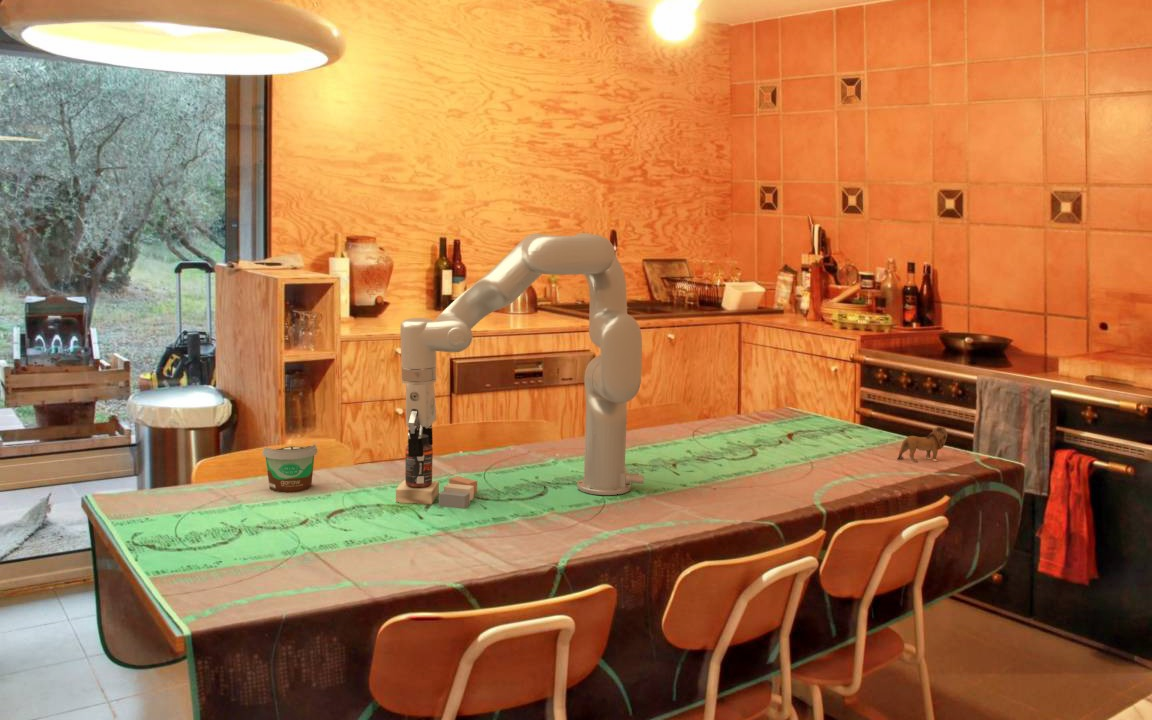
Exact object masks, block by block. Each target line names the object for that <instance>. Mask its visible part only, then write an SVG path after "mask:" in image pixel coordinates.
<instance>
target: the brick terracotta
mask: <svg viewBox="0 0 1152 720" xmlns="http://www.w3.org/2000/svg"><path fill="white" fill-rule="evenodd" d="M448 484H459V485H469V486H474V495H475V494H478V480H474V479H470V478H467V477H463V476H459V475H458V476H455V477H450V478H449V479H448Z"/></svg>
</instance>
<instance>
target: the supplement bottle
mask: <svg viewBox="0 0 1152 720" xmlns="http://www.w3.org/2000/svg"><path fill="white" fill-rule="evenodd" d="M422 438H423V456H422V457H410V456H409V455H408V444H407V445H406V446H405V447H406V448H405V473H404V475H405V478H404V480H406V485H407V486H410V487H415V488H423V487H428V486H430V485H431V484H432V481H433V458H434V457H433V445H432V446H431V445H430V444H429V442H428V441H429V440H428V439H429V438H428V435H426V434H422Z"/></svg>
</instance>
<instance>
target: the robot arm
mask: <svg viewBox="0 0 1152 720" xmlns="http://www.w3.org/2000/svg"><path fill="white" fill-rule="evenodd" d="M542 275H554V276H556V275H558V276H559V275H560V276H564V275H565V276H570V275H571V276H574V275H584V277H585V279H586V281H587V285H588V293H589V294H588V295H589V314H588V315H589V318H588V319H589V320H588V321H589V322H588V323H589V325H588V334H589V338H590V340H591V342H592V343H593V345H595V346H596V347H597V348H600V355H597V356H594V357H593V358H592V359H591V360H590V361H589V362H588V364H587V366H586V368H585V371H584V380H583V382H584V393H585V431H584V432H585V434H584V435H585V436H584V465H583V467H584V469H583V478H582V479H580V480H578V481H577V484H576V487H577V489H578V490H580V492H583V493H586V494H591V495H595V496H596V495H599V496H616V495H617V494H618V495H622V494H626V493H629V492H630V491H631V489H632V487H631V486H632V484H637V485H639V484H640V485H644V482H645V481H644V480H645V479H644V478H645V475H640V474H639V473H630V472H629V471H628V472H627V467H626V450H627V449H626V447H627V423H628V420H627V419H628V409H627V407H628V405H627V403H628V402H631V400H633V399H634V398H635V397H636V396H637V394H638V393H639V390H640V387H641V383H642V370H643V369H642V367H643V365H642V364H643V362H642V360H643V357H642V355H643V340H642V339H643V338H642V331H641V328H640V325H639V323H638V321H637V320H636V319H635V317H633V316H632V315H630V314H628V299H627V297H628V296H627V282H626V281H627V280H626V277H625V276H626V275H625V273H624V269H623V268H622V265H621V263H620V261H619V259H618V257H617V256H616V251H615V247H614V245H613V244H612V242H611V241H610V240H609V239H608V238H606V237H605V236H602V235H599V234H593V233H588V232H582V233H576V234H574V235H551V234H550V235H549V234H543V233H532V234H529V235H527V236H526V237H524V238H522V240H521V241H520V242H518V243H517V244H516V246H514V248H512V250H510V251H509V252H508V253H507V254H506V255H505V256H504V257H503V258H502V259H501V260H500V261H499V262H497V264H495V266H494V267H493V268H491V270H489V272H487V273H486V274H485V275H484V276H483V277H482V278H480V279H478V280H477V281H475V283H474V284H473V285H472V286H470V287H469V288H468V289H466V290H465V291H464V292H463V293H461V294H460V295H459V296H458V297H456V298H455V299H454V301H452V302H451V303H450V304H449V305H448V306H447V307H446V308H444V310H443V311H442V312H441V313H440V314H439V315H438V316H437V317H436V318H435V319H434V320H433V319H430V318H425V317H414V318H413V317H411V318H407V319H404V320H402V322H401V323H400V330H399V331H400V360H401V361H400V362H401V363H400V364H401V365H400V366H401V383H402V384H406V385H405V421H406V422H405V423H406V427H407V428H408V430H407V433H408V434H407V445H408V455H409V456H410V457H422V456H423V438H422V434H426V435H428V438H429V439H428V440H429V441H428V442H429V444H430V445H431V446H432V447H433V443H434V441H433V439H434V438H433V424H434V423H435V421H436V420H437V406H436V405H437V404H436V391H435V384H434V383H436V382H437V352H444V353H445V352H446V353H456V354H457V353H460V352H463V351H465V350H467V349H468V348H469V346H470V345H471V344H472V341H473V330H472V329H473V328H474V327H475V326H476V325H477V324H478V323H479V322H480V321H482V320H483V319H484V318H486V317H487V316H488V315H490V314H492V313H493V312H495V311H498V310H501V309H503V308H506V307H508V306H509V305H511V304H513V303H514V302H515V301H516V300H518V298H519V297H520V296H521V295H522V294H524V292H525V291H526V290H527V289H528V288H529V287H530V286H531V285H533V283H534V282H536V281H537V279H539V278H540V277H541V276H542Z"/></svg>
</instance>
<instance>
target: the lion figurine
mask: <svg viewBox="0 0 1152 720" xmlns="http://www.w3.org/2000/svg"><path fill="white" fill-rule="evenodd" d="M947 438H948V433H947V429H946V428H945V427H943V426H936V427H934V428H932V432H930V433H929V434H928V435H927V436H921V437H920V436H916V435H909V436H907V437H906V438H904V440H903V442H902V444H901V446H900V450H899V453H898V457H897V458H896V460H898V461H900V460H901V459H900V458H903V459H904V456H902V455H903V454H904V453H905V452H907V451H908V450H909V458H910V459H911V461H912V460H913V461H917V462H918V459H915V457H914V456H915V453H916V451H917V450H918V451H922V452H925V451H926V455H925V458H926V457H927V458H930V457H931V451H932V457H931V460H933V459H937V456H938V452H939V451H938V450H941V449H943V448H944V446H945V444H946V441H947ZM913 461H912V462H913Z"/></svg>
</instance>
